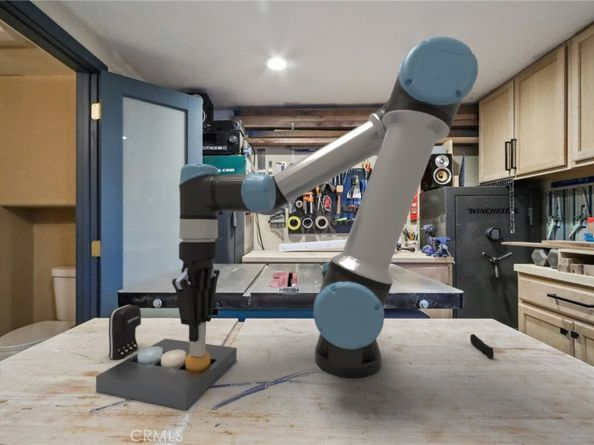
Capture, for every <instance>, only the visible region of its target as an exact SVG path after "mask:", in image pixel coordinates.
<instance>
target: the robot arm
mask: <svg viewBox="0 0 594 445" xmlns="http://www.w3.org/2000/svg"><path fill="white" fill-rule="evenodd" d="M477 59H478V58H477V56H476V55H475V54H474V53H473V52H472V49H471V47H469V45H467V44H466V43H465V42H463V41H461V40H460V39H457V38H453V37H450V36H435V37H429V38H427V39H425V40H423V41H421V42H419V43H417V44H415V45H413V47H412V48H411V49H409V51H408V52H407V53H406V55H405V56H404V58H403V60H402V61H401V63H400V65H399V67H398V74H397V77H396V80H395V82H394V85H393V88H392V91H391V94H390V97H389V99H388V100H387V101H386V102H385V103H384V104H383V105H382V106H381V107H380V108H378V109H377V110H375V111H374V112H372V113H370V114H369V117H368V120H367V121H365V122H364V123H362V124H360V125H357V127H355V128H353V129H352V130H349V131H348V132H346V133H345V134H343V135H341V136H339V137H338V138H336V139H334V140H332V141H331V142H329V143H327V144H326V145H324V146H322V147H320V148H319V149H317V150H315V151H314V152H312V153H310V154H309V155H306V156H305V157H303V158H301V159H300V160H298V161H296V162H295V163H293V164H291V165H289V166H287V167H286V168H284V169H282V170H280V171H278V172H277V173H276V174H274V175H273V176H272V175H270V174H265V173H256V172H252V173H246V174H245V173H243V174H242V173H241V174H219V169H218V168H217V166H214V165H211V164H207V163H205V164H204V163H187V164H185V165H183V166H182V167H181V169H180V174H179V175H180V176H179V177H180V178H179V184H178V189H179V239H180V240H182V241H180V242H179V243H178V259H179V260H180V261H182V268H181V275H179V277H178V278H173V279H172V280H171V283H172V286H173V289H174V290H175V294H176V300H177V307H178V312H179V320H180V324H181V325H186V326H188V342H190V356H196V357H202V356H203V355H205V344H206V333H207V322H211V320H212V317H210V316H213V313H214V307H215V300H216V292H217V286H218V285H217V284H218V279H219V276H220V274H221V273H220V271H221V270H220V269H215V268H214V263H213V260H216V259H217V258H218V242H217V241H216V239H218V237H219V232H218V231H219V230H218V229H219V226H218V224H219V223H218V222H219V220H218V219H219V218H218V216H219V213H224V212H226V213H228V212H235V213H238V212H239V213H240V212H241V213H251V214H258V215H263V216H271V215H273V214H275V213H278V212H279V210H280V209H281V208H282V207H283V206H286V205H287V204H288V203H291V202H292V201H293V200H296V199H298V198H299V197H301V196H304V194H306V193H309V192H310V191H312V190H314V189H315V188H317V187H320V186H321V185H323V184H325V183H326V182H328V181H331V180H333V179H334V178H335V177H337V176H339V175H341V174H343V173H344V172H347V171H348V170H350V169H352V168H354V167H356V166H357V165H359V164H362V163H363V162H365V161H367V160H368V159H370V158H372V157H374V156H376V155H377V157H376V160H375V163H374V165H373V168H372V170H371V173H370V176H369V179H368V181H367V184H366V187H365V190H364V193H363V196H362V199H361V201H360V203H359V205H358V206H359V207H358V209H357V212H356V213H355V217H354V219H353V222H352V226H351V228H350V231H349V234H348V236H347V239H346V242H345V244H344V247H343V250H342V252H341V253H339V254H337V255H334V256H333V257H331V259H330V261H326V262H324V263H323V265H322V271H321V276H322V282H321V283H322V284H321V287H320V288H319V292H318V294H317V295H316V297H315V299H314V302H313V305H312V308H313V311H312V312H313V320H314V323H315V326H316V328H317V330H318V332H319V337H318V339H317V343H316V346H315V349H314V350H315V351H314V352H315V353H314V360H315V363H316V365H317V366H318V367H319V368H320V369H321V370H323V371H324V372H326V373H329V374H331V375H335V376H339V377H343V378H344V377H345V378H364V376H365V377H368V375H369V376H372V375H375V374H376V373H377V372H379V370H381V368H382V352H381V350H380V347H379V343H378V340H377V338H378V337H379V336H380V334H381V332H382V329H383V327H384V323H385V322H384V321H385V310H384V307H385V304H386V301H387V299H388V296H389V294H390V291H391V288H392V285H393V282H394V281H393V278H392V276H391V274H390V272H389V267H390V264H391V262H392V259H393V257H394V254H395V252H396V248H397V246H398V243H399V240H400V237H401V235H402V233H403V230H404V227H405V225H406V222H407V220H408V217H409V214H410V211H411V208H412V206H413V204H414V200H415V199H416V196H417V192H418V191H419V187H420V185H421V181H422V179H423V177H424V175H425V171H426V169H427V166H428V163H429V160H430V158H431V155H432V153H433V150H434V148H435V145H436V143H438V142H440V141H442V140H444V139H445V138H447V137H448V136H449V133H450V132H451V128H452V126H453V123H454V121H455V118H456V116H457V113H458V111H459V107H460V105H461V103H462V101H463V99H465V97H467V96H468V95H469V94H470V92H471V91H472V89H473V88H474V85H475V84H476V81H477V78H478V74H479V63H478V60H477ZM380 367H381V368H380ZM375 372H376V373H375ZM371 374H372V375H371Z"/></svg>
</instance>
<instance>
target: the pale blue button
mask: <svg viewBox="0 0 594 445" xmlns="http://www.w3.org/2000/svg"><path fill="white" fill-rule="evenodd" d="M137 354H138V363H143V364H149V365H152V364H153V363H155V362H156V361H158V360H160V359H161V356H162V355H163V348H162V347H157V346H155V347H150V346H149V347H146V348H142V349H141V350H139V351H138V352H137Z"/></svg>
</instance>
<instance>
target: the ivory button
mask: <svg viewBox="0 0 594 445" xmlns="http://www.w3.org/2000/svg"><path fill="white" fill-rule="evenodd" d="M185 362H186V352H185V351H184V350H172V351H168V352H166V353H164V354H163V355H162V356H161V367H167V368H173V369H176V368H178V367H179V366H180V365H182V364H183V363H185Z"/></svg>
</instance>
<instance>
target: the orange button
mask: <svg viewBox="0 0 594 445" xmlns="http://www.w3.org/2000/svg"><path fill="white" fill-rule="evenodd" d="M209 367H210V353H209V352H208V351H205V355H203V356H202V357H196V356H190V354H188V355H187V356H186V371H191V372H197V373H203V372H204V371H205V370H206V369H207V368H209Z"/></svg>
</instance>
